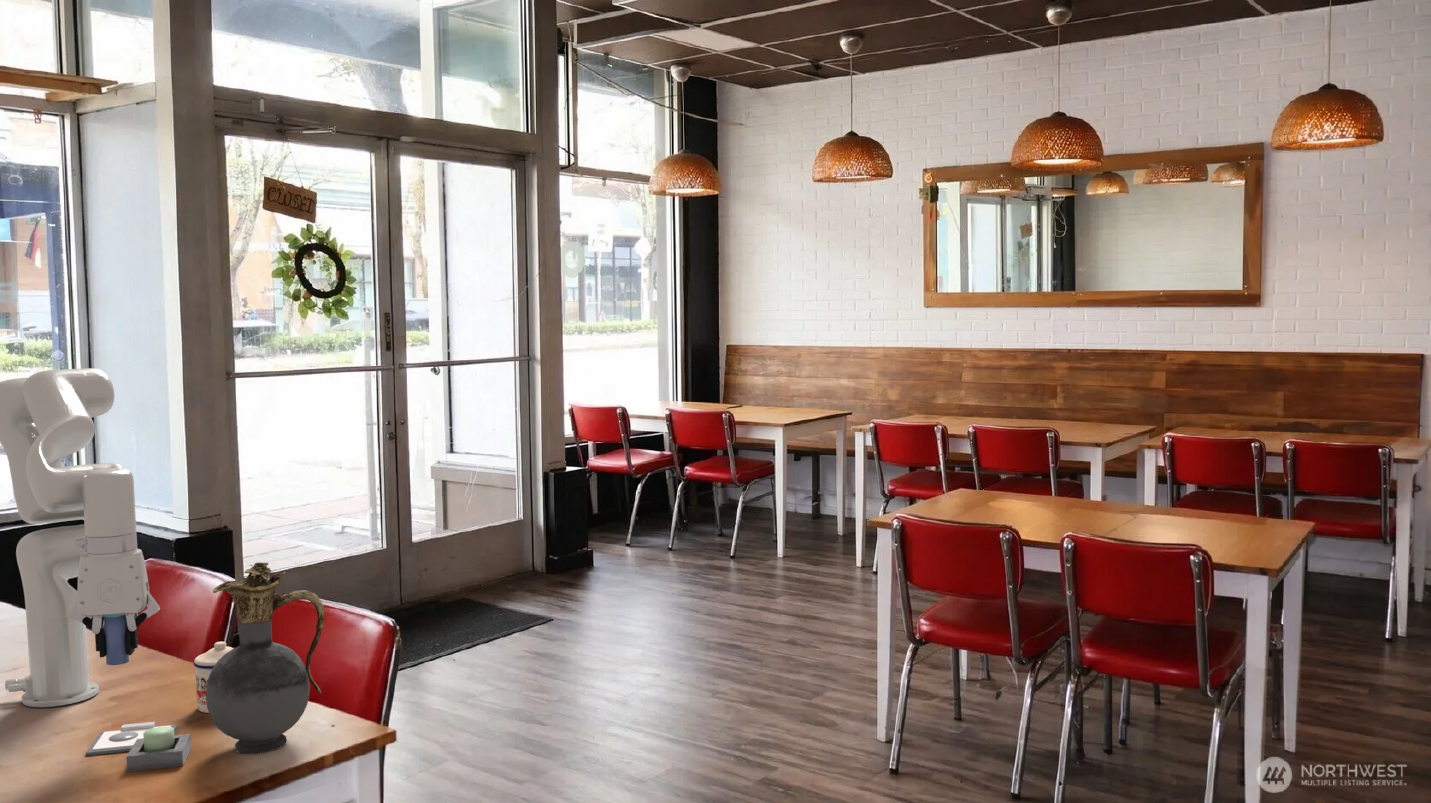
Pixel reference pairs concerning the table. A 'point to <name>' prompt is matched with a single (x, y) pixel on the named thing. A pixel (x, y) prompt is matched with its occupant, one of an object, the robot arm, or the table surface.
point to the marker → (115, 639)
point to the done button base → (159, 755)
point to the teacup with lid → (207, 671)
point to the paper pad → (121, 738)
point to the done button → (159, 739)
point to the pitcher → (260, 668)
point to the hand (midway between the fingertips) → (117, 653)
